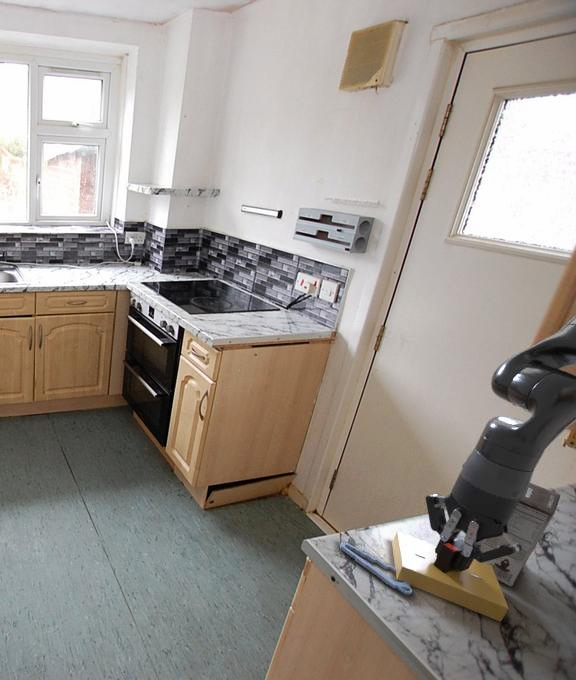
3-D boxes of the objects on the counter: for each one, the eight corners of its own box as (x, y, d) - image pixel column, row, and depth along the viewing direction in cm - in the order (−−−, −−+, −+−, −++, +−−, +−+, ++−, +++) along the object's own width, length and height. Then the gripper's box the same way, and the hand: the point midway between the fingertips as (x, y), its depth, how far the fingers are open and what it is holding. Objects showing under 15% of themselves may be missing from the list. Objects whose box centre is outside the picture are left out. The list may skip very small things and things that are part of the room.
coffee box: (477, 542, 89) (512, 474, 84) (521, 564, 85) (561, 493, 79) (466, 564, 84) (503, 493, 78) (513, 589, 79) (555, 515, 73)
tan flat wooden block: (485, 578, 81) (492, 565, 80) (500, 622, 72) (509, 607, 71) (391, 543, 87) (397, 530, 86) (396, 579, 79) (402, 565, 78)
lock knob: (451, 558, 80) (462, 537, 79) (462, 566, 79) (473, 545, 77) (433, 564, 79) (443, 543, 77) (444, 573, 77) (454, 551, 75)
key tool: (349, 541, 87) (335, 548, 85) (350, 537, 87) (336, 544, 84) (418, 589, 78) (405, 599, 75) (420, 585, 78) (407, 595, 75)
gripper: (560, 506, 68) (509, 592, 74) (459, 452, 79) (422, 530, 86) (531, 516, 65) (480, 603, 71) (431, 458, 77) (395, 538, 83)
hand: (449, 563), depth 78 cm, fingers closed on lock knob, 2 cm apart
